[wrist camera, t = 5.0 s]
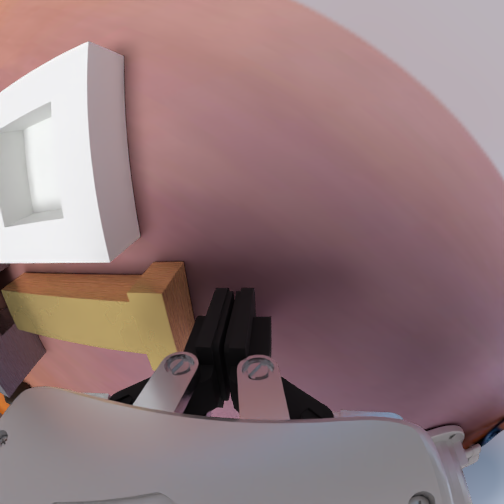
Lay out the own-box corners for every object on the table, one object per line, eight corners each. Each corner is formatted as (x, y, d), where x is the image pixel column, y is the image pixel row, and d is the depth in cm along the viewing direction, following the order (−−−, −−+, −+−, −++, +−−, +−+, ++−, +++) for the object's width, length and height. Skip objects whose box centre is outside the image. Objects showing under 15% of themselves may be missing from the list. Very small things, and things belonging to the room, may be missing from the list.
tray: (124, 56, 10) (88, 41, 7) (140, 236, 13) (110, 262, 10) (10, 109, 10) (-24, 111, 8) (28, 244, 14) (-2, 263, 11)
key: (183, 261, 13) (161, 293, 10) (197, 335, 15) (183, 373, 12) (21, 263, 14) (-7, 283, 12) (41, 317, 16) (18, 340, 13)
